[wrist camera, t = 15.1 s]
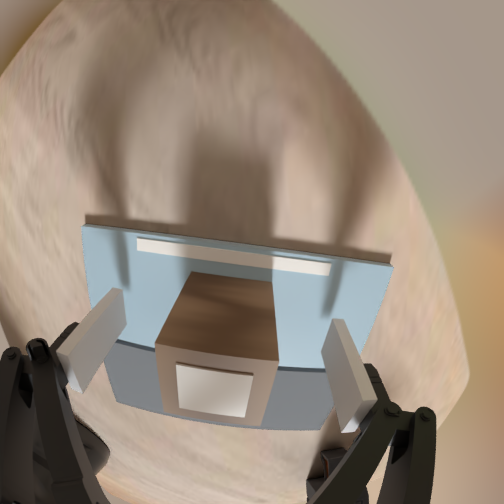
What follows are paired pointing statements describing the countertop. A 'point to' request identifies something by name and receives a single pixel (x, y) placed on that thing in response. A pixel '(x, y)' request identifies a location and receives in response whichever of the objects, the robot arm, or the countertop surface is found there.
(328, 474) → the tool
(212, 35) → the countertop surface
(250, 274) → the mat
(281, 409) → the mat
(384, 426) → the robot arm
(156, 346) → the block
